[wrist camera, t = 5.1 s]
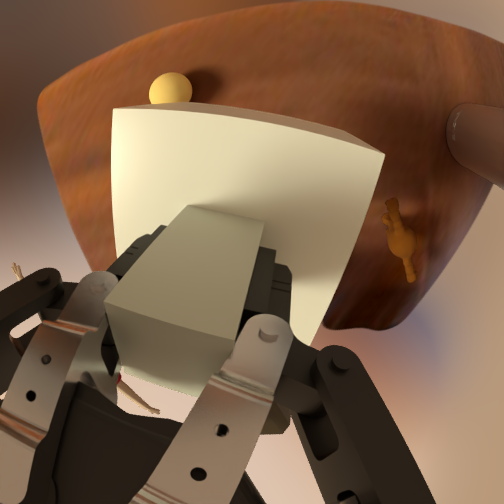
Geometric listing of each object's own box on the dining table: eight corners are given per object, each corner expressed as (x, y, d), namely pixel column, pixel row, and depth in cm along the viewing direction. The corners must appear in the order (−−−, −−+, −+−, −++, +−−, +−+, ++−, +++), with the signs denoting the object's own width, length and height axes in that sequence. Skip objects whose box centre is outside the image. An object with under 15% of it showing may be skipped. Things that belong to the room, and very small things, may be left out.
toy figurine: (411, 253, 35) (428, 281, 29) (389, 262, 36) (403, 291, 30) (389, 178, 30) (409, 196, 25) (364, 189, 32) (378, 209, 26)
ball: (201, 75, 27) (185, 71, 23) (195, 113, 30) (179, 115, 25) (163, 73, 27) (144, 71, 23) (158, 110, 30) (139, 113, 26)
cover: (344, 130, 16) (478, 225, 3) (305, 264, 22) (302, 452, 9) (188, 101, 16) (-8, 140, 4) (176, 235, 22) (72, 384, 9)
